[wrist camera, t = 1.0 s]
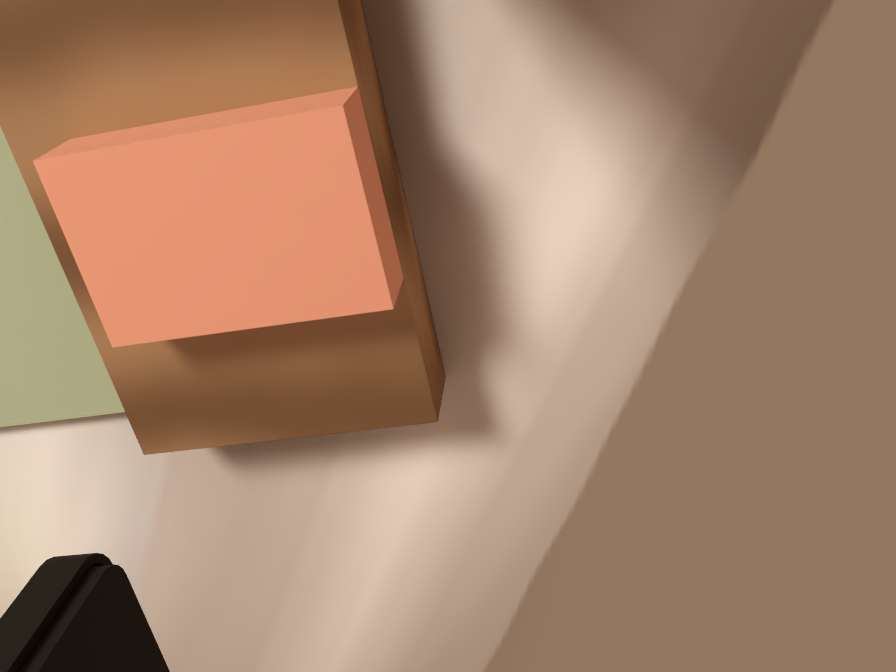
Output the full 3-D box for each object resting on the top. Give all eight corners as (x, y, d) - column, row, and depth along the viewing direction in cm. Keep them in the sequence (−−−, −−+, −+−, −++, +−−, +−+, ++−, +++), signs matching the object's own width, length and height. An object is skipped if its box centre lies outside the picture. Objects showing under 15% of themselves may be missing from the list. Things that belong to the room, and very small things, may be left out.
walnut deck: (-14, -53, 26) (-75, -44, 23) (330, -132, 24) (306, -132, 22) (174, 409, 34) (144, 454, 31) (445, 376, 32) (437, 421, 29)
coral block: (70, 139, 26) (32, 161, 24) (358, 86, 24) (342, 105, 22) (141, 315, 28) (112, 347, 26) (403, 277, 27) (393, 309, 25)
